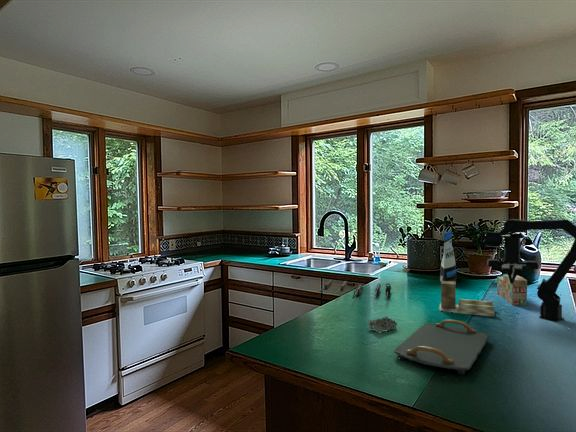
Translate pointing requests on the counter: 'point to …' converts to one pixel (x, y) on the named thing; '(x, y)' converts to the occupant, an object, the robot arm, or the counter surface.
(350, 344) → the counter surface
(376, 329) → the bumpy grey rock
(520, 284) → the stack of blocks
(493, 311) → the chute
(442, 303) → the walnut block
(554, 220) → the robot arm
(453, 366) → the serving board
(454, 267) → the protein powder
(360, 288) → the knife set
